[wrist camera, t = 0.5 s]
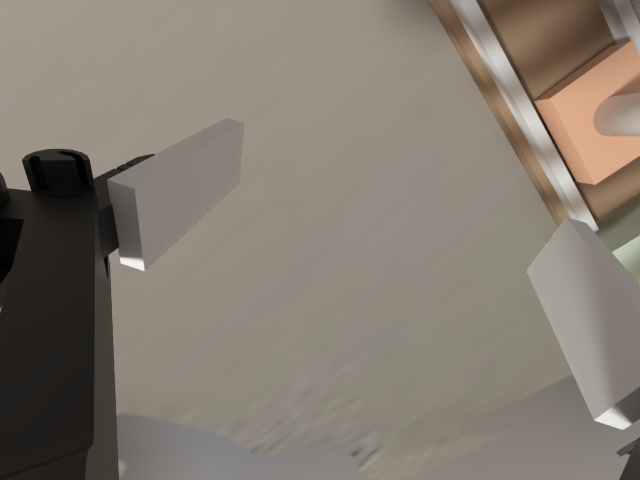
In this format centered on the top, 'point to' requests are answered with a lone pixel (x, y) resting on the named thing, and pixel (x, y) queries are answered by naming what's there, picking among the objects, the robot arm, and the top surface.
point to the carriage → (597, 114)
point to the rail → (535, 80)
